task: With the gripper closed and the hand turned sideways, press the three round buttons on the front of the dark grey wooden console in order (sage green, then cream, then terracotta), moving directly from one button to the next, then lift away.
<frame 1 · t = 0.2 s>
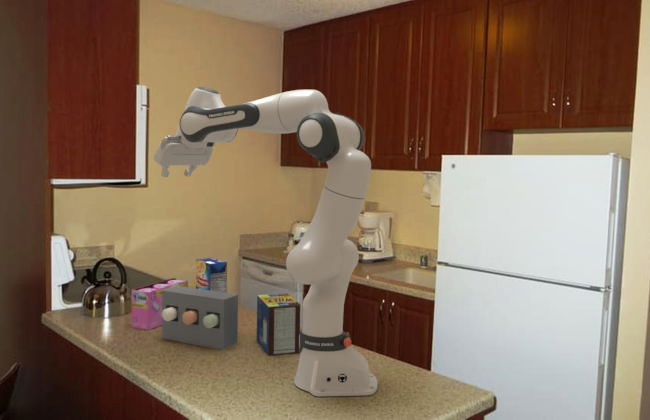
hand: (175, 176, 178), 54 cm above the countertop, tool tilted 30°, fingers open, 8 cm apart
cream button: (170, 313, 184), point 9 cm above the countertop, slide at 0.0 cm
protein box: (277, 347, 182), on the countertop
sage button: (212, 320, 177), point 9 cm above the countertop, slide at 0.0 cm
terracotta button: (191, 316, 180), point 9 cm above the countertop, slide at 0.0 cm
button panel: (199, 340, 185), on the countertop
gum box: (161, 321, 206), on the countertop
beverage box: (210, 319, 210), on the countertop
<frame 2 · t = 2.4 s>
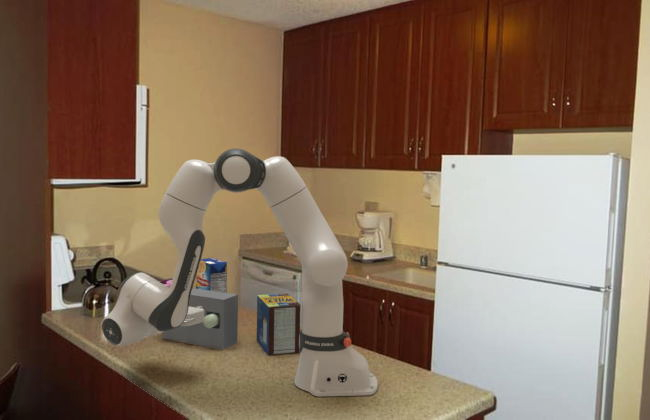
hand: (187, 306, 165), 16 cm above the countertop, tool horizontal, fingers open, 8 cm apart
nothing on the countertop moved.
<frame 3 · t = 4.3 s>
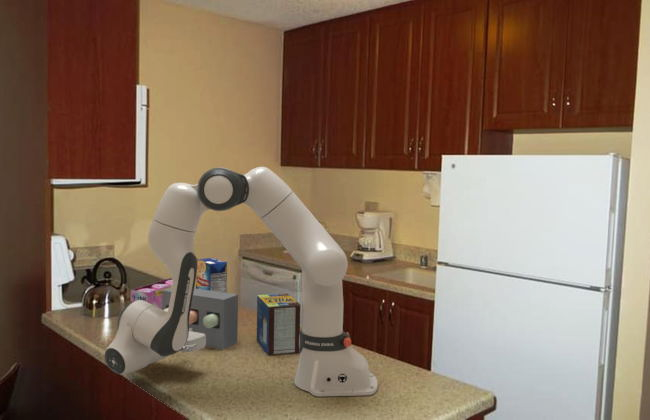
hand: (188, 330, 166), 9 cm above the countertop, tool horizontal, fingers closed
nothing on the countertop moved.
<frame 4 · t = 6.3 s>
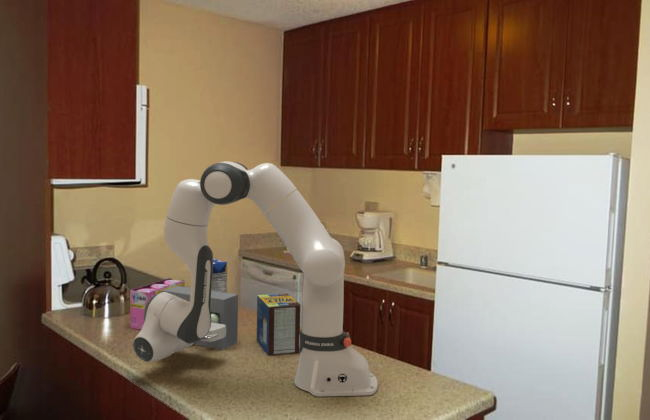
hand: (208, 321, 176), 9 cm above the countertop, tool horizontal, fingers closed, pressing on sage button
sage button: (212, 320, 177), point 9 cm above the countertop, slide at 0.2 cm, touching gripper
everything else where it was.
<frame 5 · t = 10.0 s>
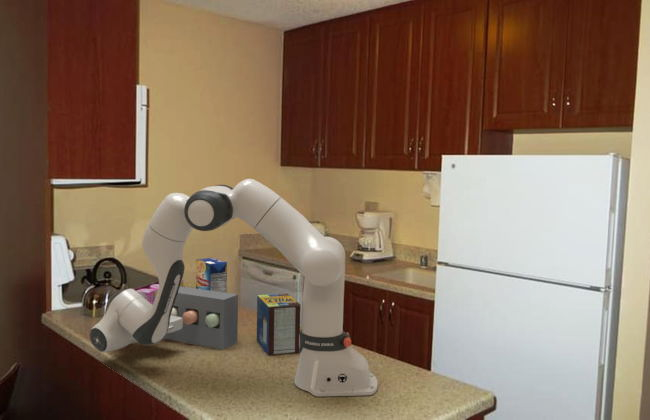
hand: (167, 314, 182), 9 cm above the countertop, tool horizontal, fingers closed, pressing on cream button
cream button: (171, 313, 184), point 9 cm above the countertop, slide at 0.5 cm, touching gripper
sage button: (214, 319, 178), point 9 cm above the countertop, slide at 1.2 cm
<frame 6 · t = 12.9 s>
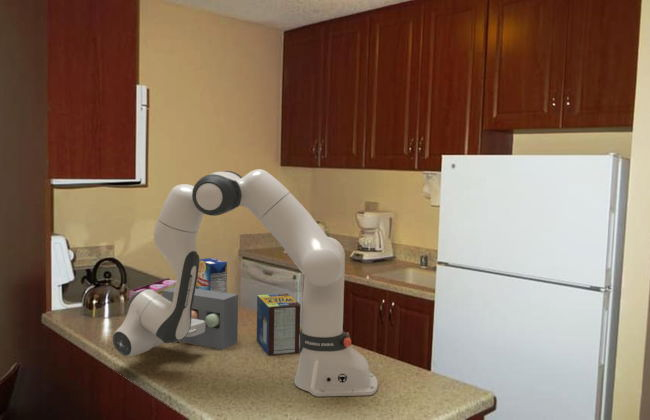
hand: (189, 317, 179), 9 cm above the countertop, tool horizontal, fingers closed, pressing on terracotta button
cream button: (173, 312, 185), point 9 cm above the countertop, slide at 1.2 cm
terracotta button: (193, 316, 181), point 9 cm above the countertop, slide at 1.0 cm, touching gripper
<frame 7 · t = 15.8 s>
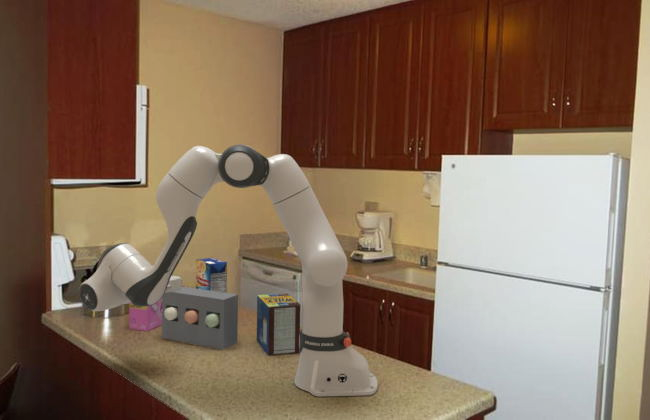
hand: (165, 276, 168), 24 cm above the countertop, tool horizontal, fingers closed
terracotta button: (193, 316, 182), point 9 cm above the countertop, slide at 1.2 cm
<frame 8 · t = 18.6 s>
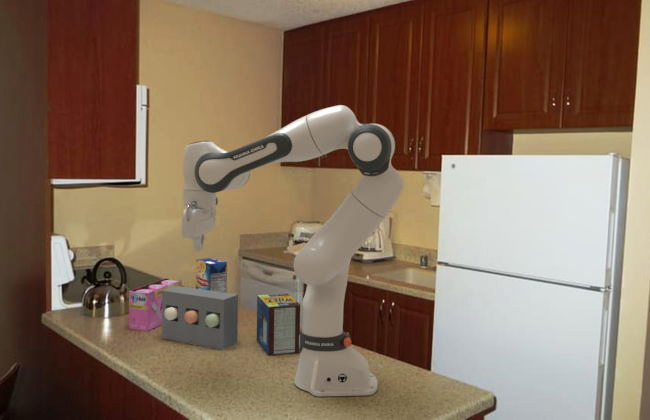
hand: (198, 250, 156), 34 cm above the countertop, tool pointing down, fingers closed
at the end: sage button slide at 1.2 cm; cream button slide at 1.2 cm; terracotta button slide at 1.2 cm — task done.
